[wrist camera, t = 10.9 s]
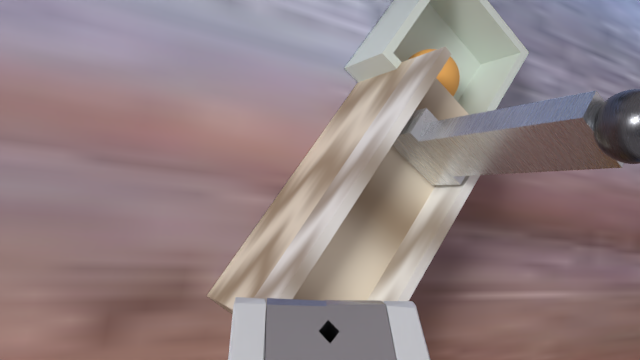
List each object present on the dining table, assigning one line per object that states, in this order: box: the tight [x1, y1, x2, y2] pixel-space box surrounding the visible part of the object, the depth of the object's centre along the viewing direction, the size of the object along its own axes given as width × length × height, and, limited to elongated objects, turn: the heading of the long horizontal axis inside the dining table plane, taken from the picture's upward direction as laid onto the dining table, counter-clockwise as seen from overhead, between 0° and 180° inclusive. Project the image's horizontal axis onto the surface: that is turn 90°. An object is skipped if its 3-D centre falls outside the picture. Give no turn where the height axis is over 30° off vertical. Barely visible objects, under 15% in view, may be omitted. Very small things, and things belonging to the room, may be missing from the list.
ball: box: [408, 49, 460, 96], centre depth 38 cm, size 4×4×4 cm
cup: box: [344, 0, 529, 115], centre depth 39 cm, size 9×9×4 cm
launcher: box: [207, 47, 480, 314], centre depth 33 cm, size 18×6×8 cm, turn 143°
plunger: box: [392, 89, 640, 185], centre depth 26 cm, size 3×4×15 cm, turn 53°
